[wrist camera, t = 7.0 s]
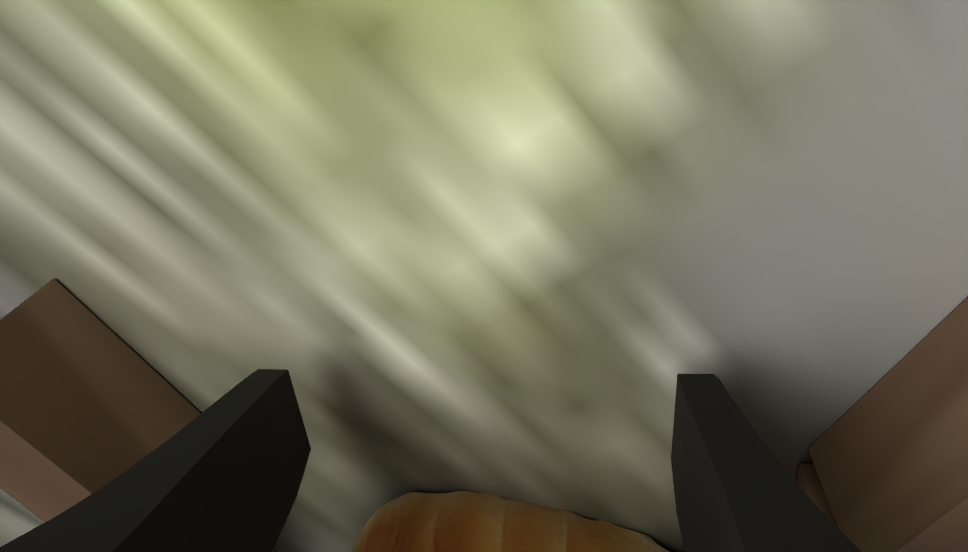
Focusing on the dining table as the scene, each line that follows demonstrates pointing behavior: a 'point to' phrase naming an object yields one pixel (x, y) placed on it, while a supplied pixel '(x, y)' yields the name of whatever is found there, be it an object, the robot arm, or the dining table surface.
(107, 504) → the robot arm
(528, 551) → the pastry
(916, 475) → the holder
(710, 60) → the dining table surface
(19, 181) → the dining table surface
